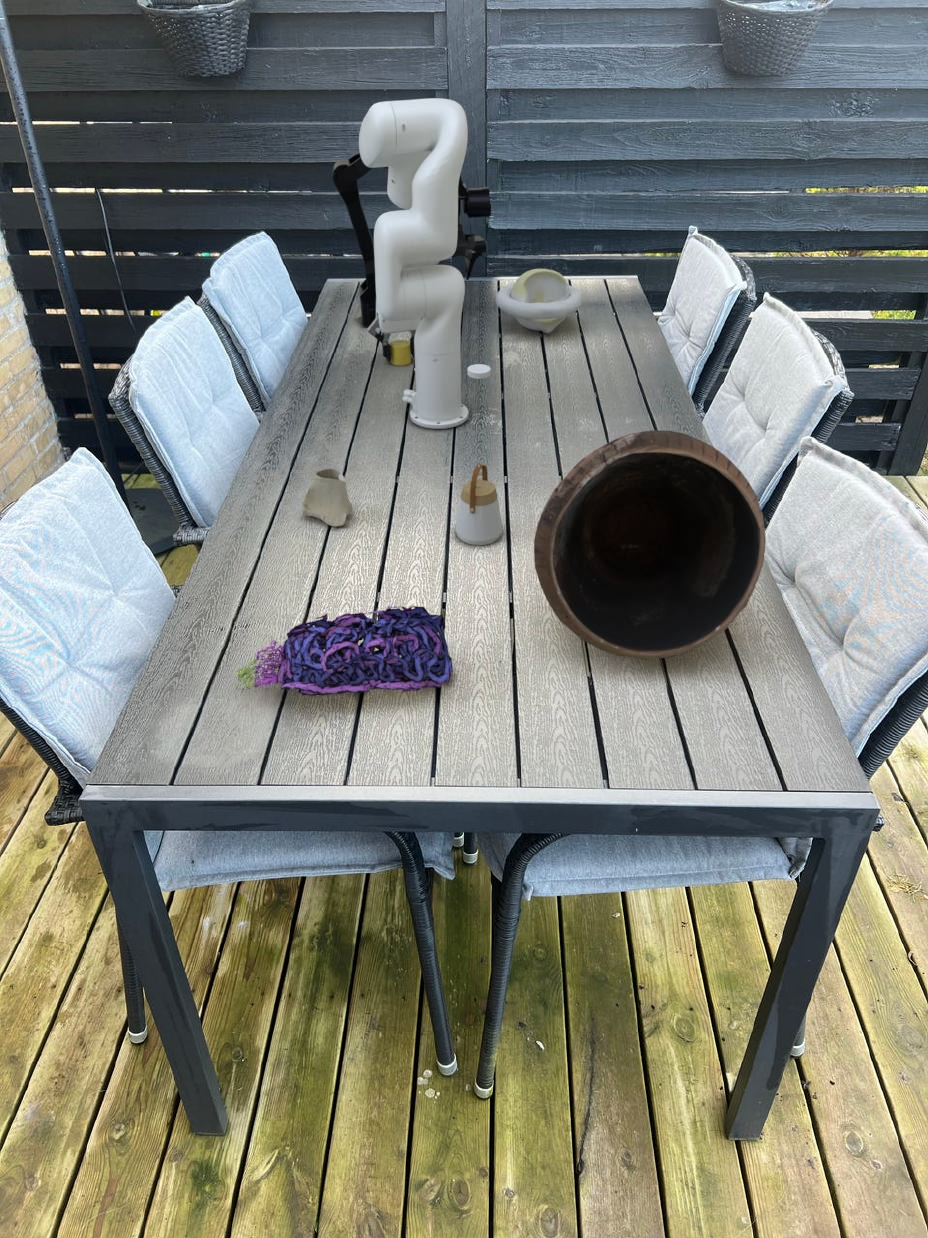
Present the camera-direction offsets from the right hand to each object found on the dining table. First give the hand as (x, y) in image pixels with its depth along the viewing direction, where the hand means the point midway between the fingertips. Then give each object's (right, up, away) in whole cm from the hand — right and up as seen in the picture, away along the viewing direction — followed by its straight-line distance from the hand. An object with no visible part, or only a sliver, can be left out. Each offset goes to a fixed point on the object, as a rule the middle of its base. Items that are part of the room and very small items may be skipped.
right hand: (400, 356), depth 224 cm
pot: (+42, -62, -79) cm, 108 cm away
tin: (0, -1, +1) cm, 1 cm away
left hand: (+12, +25, +18) cm, 33 cm away
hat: (+34, +12, +17) cm, 40 cm away
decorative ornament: (-1, -73, -93) cm, 118 cm away
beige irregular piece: (-9, -45, -57) cm, 73 cm away
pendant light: (+18, -48, -61) cm, 80 cm away
